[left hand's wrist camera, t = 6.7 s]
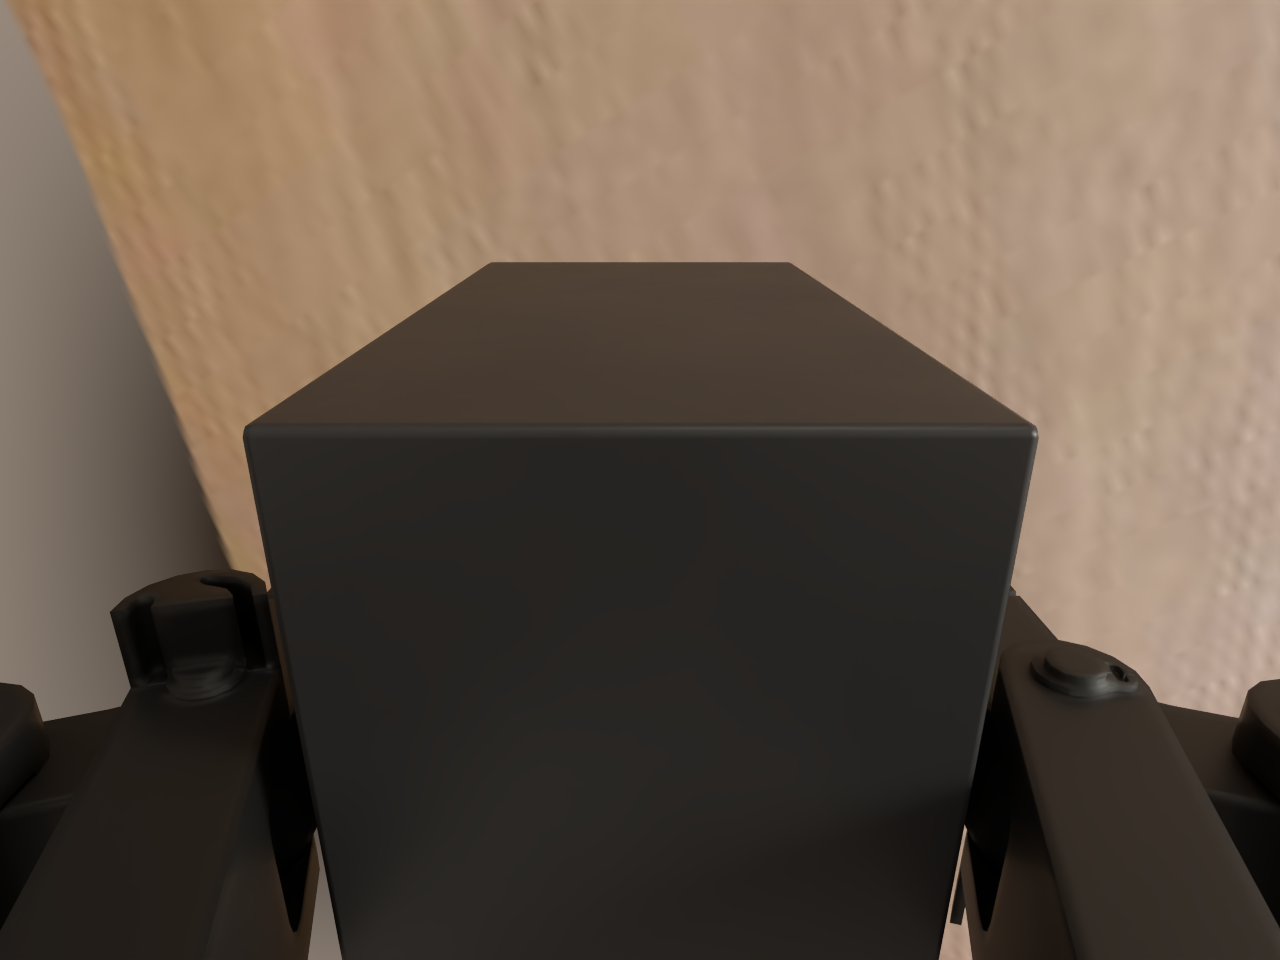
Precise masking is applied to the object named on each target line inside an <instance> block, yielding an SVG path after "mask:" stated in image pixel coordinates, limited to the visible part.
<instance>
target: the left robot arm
mask: <svg viewBox="0 0 1280 960" xmlns="http://www.w3.org/2000/svg"><path fill="white" fill-rule="evenodd" d="M110 614H111V618H112V622H113V625H114V629H115V632H116V636H117V639H118V643H119V647H120V650H121V654H122V657H123V661H124V665H125V668H126V672H127V676H128V679H129V683H130V686H131V689H130V691H129V693H128V694H127V696H126V698H125V700H124V702H123V704H122V705H121V707H117V708H113V709H108V710H103V711H98V712H93V713H87V714H82V715H77V716H71V717H66V718H61V719H55V720H50V721H45V722H43V721H42V718H41V715H40V712H39V709H38V706H37V703H36V700H35V697H34V694H33V693H31V692H30V691H29V690H27V689H26V688H24V687H23V686H21V685H15V684H7V683H0V960H308V953H309V945H310V938H311V930H312V923H313V915H314V908H315V900H316V893H317V885H318V878H319V870H320V868H319V861H318V854H317V848H316V843H315V838H314V832H315V830H316V828H317V824H316V819H315V814H314V809H313V803H312V798H311V793H310V788H309V782H308V777H307V772H306V767H305V761H304V756H303V751H302V746H301V740H300V735H299V730H298V725H297V720H296V714H295V709H294V704H293V699H292V693H291V688H290V683H289V678H288V672H287V667H286V662H285V657H284V651H283V646H282V641H281V636H280V630H279V625H278V620H277V615H276V609H275V604H274V599H273V594H272V588H271V589H270V590H269V591H268V592H267V590H266V585H265V582H264V581H263V580H262V579H260V578H259V577H257V576H256V575H254V574H253V573H248V572H242V571H237V570H205V571H200V572H195V573H189V574H183V575H178V576H175V577H172V578H169V579H166V580H163V581H160V582H157V583H154V584H151V585H148V586H146V587H144V588H143V589H141V590H139V591H137V592H135V593H133V594H131V595H129V596H128V597H126V598H124V599H123V600H122V601H121V602H120V603H119V604H118V605H117V606H116V607H115V608H114V609H113V610H112V611H110ZM965 826H966V828H967V833H966V838H965V843H964V848H963V853H962V859H961V864H960V869H959V874H958V879H957V884H956V890H955V895H954V900H953V905H952V912H951V919H950V923H954V924H958V925H961V923H962V918H963V913H964V909H965V907H966V913H967V921H968V928H969V936H970V943H971V951H972V958H973V960H1280V679H1277V680H1269V681H1261V682H1259V683H1258V684H1257V685H1255V686H1254V687H1252V688H1251V689H1250V690H1248V693H1247V696H1246V699H1245V702H1244V705H1243V708H1242V711H1241V714H1240V717H1239V718H1235V717H1229V716H1224V715H1219V714H1213V713H1208V712H1203V711H1197V710H1192V709H1187V708H1181V707H1176V706H1171V705H1167V704H1163V703H1159V702H1157V700H1156V698H1155V697H1154V695H1153V693H1152V691H1151V689H1150V687H1149V686H1148V685H1147V684H1146V683H1145V681H1144V680H1143V679H1142V678H1141V677H1140V676H1139V675H1138V673H1137V672H1136V671H1135V670H1133V669H1132V668H1130V667H1128V666H1127V665H1125V664H1124V663H1122V662H1121V661H1119V660H1117V659H1116V658H1114V657H1113V656H1110V655H1108V654H1105V653H1102V652H1100V651H1097V650H1095V649H1092V648H1090V647H1087V646H1084V645H1079V644H1075V643H1070V642H1065V641H1061V640H1058V639H1057V638H1056V637H1055V636H1054V635H1053V634H1052V632H1051V631H1050V630H1049V629H1048V628H1047V627H1046V626H1045V624H1044V623H1043V622H1042V621H1041V620H1040V619H1039V618H1038V616H1037V615H1036V614H1035V613H1034V612H1033V611H1032V610H1031V608H1030V607H1029V606H1028V605H1027V604H1026V603H1025V602H1024V600H1023V599H1022V598H1021V597H1020V596H1016V591H1015V590H1014V589H1013V588H1012V587H1011V585H1010V589H1009V595H1008V600H1007V605H1006V610H1005V615H1004V621H1003V626H1002V631H1001V636H1000V642H999V647H998V652H997V657H996V662H995V668H994V673H993V678H992V683H991V689H990V694H989V699H988V704H987V709H986V715H985V720H984V725H983V730H982V736H981V741H980V746H979V751H978V756H977V762H976V767H975V772H974V777H973V783H972V788H971V793H970V798H969V803H968V809H967V814H966V819H965Z"/></svg>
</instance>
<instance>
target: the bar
mask: <svg viewBox="0 0 1280 960" xmlns="http://www.w3.org/2000/svg"><path fill="white" fill-rule="evenodd" d="M243 442H244V447H245V452H246V457H247V463H248V468H249V473H250V478H251V484H252V489H253V494H254V499H255V504H256V510H257V515H258V520H259V525H260V531H261V536H262V541H263V546H264V552H265V557H266V562H267V567H268V573H269V578H270V583H271V588H272V594H273V599H274V604H275V609H276V615H277V620H278V625H279V630H280V636H281V641H282V646H283V651H284V657H285V662H286V667H287V672H288V678H289V683H290V688H291V693H292V699H293V704H294V709H295V714H296V720H297V725H298V730H299V735H300V740H301V746H302V751H303V756H304V761H305V767H306V772H307V777H308V782H309V788H310V793H311V798H312V803H313V809H314V814H315V819H316V824H317V830H318V835H319V840H320V845H321V851H322V856H323V861H324V866H325V872H326V877H327V882H328V887H329V893H330V898H331V903H332V908H333V913H334V919H335V924H336V929H337V934H338V940H339V945H340V950H341V956H342V960H939V955H940V950H941V945H942V939H943V934H944V929H945V924H946V918H947V913H948V908H949V903H950V898H951V892H952V887H953V882H954V877H955V871H956V866H957V861H958V856H959V851H960V845H961V840H962V835H963V830H964V824H965V819H966V814H967V809H968V803H969V798H970V793H971V788H972V783H973V777H974V772H975V767H976V762H977V756H978V751H979V746H980V741H981V736H982V730H983V725H984V720H985V715H986V709H987V704H988V699H989V694H990V689H991V683H992V678H993V673H994V668H995V662H996V657H997V652H998V647H999V642H1000V636H1001V631H1002V626H1003V621H1004V615H1005V610H1006V605H1007V600H1008V595H1009V589H1010V584H1011V579H1012V574H1013V568H1014V563H1015V558H1016V553H1017V548H1018V542H1019V537H1020V532H1021V527H1022V521H1023V516H1024V511H1025V506H1026V501H1027V495H1028V490H1029V485H1030V480H1031V474H1032V469H1033V464H1034V459H1035V454H1036V448H1037V443H1038V431H1037V428H1036V426H1035V425H1033V424H1032V423H1030V422H1029V421H1027V420H1026V419H1024V418H1023V417H1021V416H1020V415H1018V414H1017V413H1015V412H1014V411H1012V410H1011V409H1009V408H1008V407H1006V406H1005V405H1003V404H1002V403H1000V402H999V401H997V400H996V399H994V398H993V397H991V396H990V395H988V394H987V393H985V392H984V391H982V390H981V389H979V388H978V387H976V386H975V385H973V384H972V383H970V382H969V381H967V380H966V379H964V378H963V377H961V376H960V375H958V374H957V373H955V372H954V371H952V370H951V369H949V368H948V367H946V366H945V365H943V364H942V363H940V362H939V361H937V360H936V359H934V358H933V357H931V356H930V355H928V354H927V353H925V352H924V351H922V350H921V349H919V348H918V347H916V346H915V345H913V344H912V343H910V342H909V341H907V340H906V339H904V338H903V337H901V336H900V335H898V334H897V333H895V332H894V331H892V330H891V329H889V328H888V327H886V326H885V325H883V324H882V323H880V322H879V321H877V320H875V319H874V318H872V317H871V316H869V315H868V314H866V313H865V312H863V311H862V310H860V309H859V308H857V307H856V306H854V305H853V304H851V303H850V302H848V301H847V300H845V299H844V298H842V297H841V296H839V295H838V294H836V293H835V292H833V291H832V290H830V289H829V288H827V287H826V286H824V285H823V284H821V283H820V282H818V281H817V280H815V279H814V278H812V277H811V276H809V275H808V274H806V273H805V272H803V271H802V270H800V269H799V268H797V267H796V266H794V265H793V264H791V263H789V262H492V263H489V264H487V265H486V266H484V267H483V268H481V269H480V270H479V271H477V272H476V273H474V274H473V275H471V276H470V277H468V278H467V279H465V280H464V281H462V282H461V283H459V284H458V285H456V286H455V287H453V288H452V289H450V290H449V291H447V292H446V293H444V294H443V295H441V296H440V297H438V298H437V299H435V300H434V301H432V302H431V303H429V304H428V305H426V306H425V307H423V308H422V309H420V310H419V311H417V312H416V313H414V314H413V315H411V316H410V317H408V318H407V319H405V320H404V321H402V322H401V323H399V324H398V325H396V326H395V327H393V328H392V329H390V330H389V331H387V332H386V333H384V334H383V335H381V336H380V337H378V338H377V339H375V340H374V341H372V342H371V343H369V344H368V345H366V346H365V347H363V348H362V349H360V350H359V351H357V352H356V353H354V354H353V355H351V356H350V357H348V358H347V359H345V360H344V361H342V362H341V363H339V364H338V365H336V366H335V367H333V368H332V369H330V370H329V371H327V372H326V373H324V374H323V375H321V376H320V377H318V378H317V379H315V380H314V381H312V382H311V383H309V384H308V385H306V386H305V387H303V388H302V389H300V390H299V391H297V392H296V393H294V394H293V395H291V396H290V397H289V398H287V399H286V400H284V401H283V402H281V403H280V404H278V405H277V406H275V407H274V408H272V409H271V410H269V411H268V412H266V413H265V414H263V415H262V416H260V417H259V418H257V419H256V420H254V421H253V422H251V423H250V424H248V425H247V426H245V429H244V433H243Z"/></svg>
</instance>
